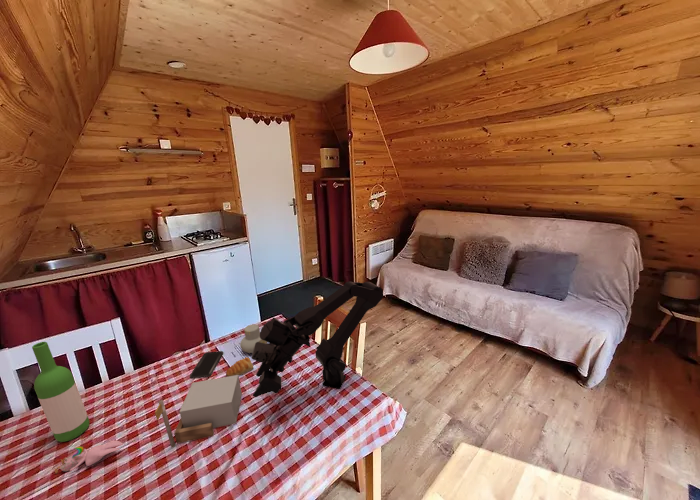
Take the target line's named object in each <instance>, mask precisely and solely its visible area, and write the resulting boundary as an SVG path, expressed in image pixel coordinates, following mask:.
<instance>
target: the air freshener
mask: <svg viewBox="0 0 700 500" xmlns="http://www.w3.org/2000/svg"><path fill="white" fill-rule="evenodd" d="M243 329H244V331H243V332H244V336H243V338H242V339H241V341H240V344H239V345H240V349H241V350H242V351H243V352H244V353H249V354H252V352H253V349H254V346H255V343H256V342H261V343H265V344H268V342H267V341H264V340H262V339H260V332H261V329H260V326H259V324H256V323H255V324H254V323H252V324H249V325H247V326H245V327H244V328H243Z"/></svg>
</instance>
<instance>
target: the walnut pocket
mask: <svg viewBox="0 0 700 500" xmlns="http://www.w3.org/2000/svg"><path fill="white" fill-rule="evenodd" d="M154 414H155V418H156V420H157V421H159V419H160V418H161V415H162V419H163V423H164V427H165V429H166V433H167V437H168V440H169V445H170V447H171V449H172V448H174V447H176V444H181V443H186V442H191V441H195V440H201V439H205V438H210V437H211V438H212V437H214V435H215V430H214V428H213V426H212V423H208V424H203V425H198V426H193V427H188V428H184V427H183V423H182V420H181V418H179V422H178V424H177V427H176V428H175V431H174V433H173V432H172V427H171V425H170V424H171V423H170V420H169V417H168V415H167V410H166V407H165V403H164V399H160V400H159V401H158V405H157V408H156V410H155V411H154ZM174 437H175V438H174ZM175 442H176V443H175Z"/></svg>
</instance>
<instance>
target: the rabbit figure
mask: <svg viewBox="0 0 700 500" xmlns="http://www.w3.org/2000/svg"><path fill="white" fill-rule="evenodd" d="M122 445H123V443H122V442H121V441H119V440H112V441H109V442H107V443H105V444H99V445H95V446H93V447H91V448H90V449H89V450H88V449H87V448H84V447H83V446H77V447H75V448H74V449H75V450H76V451H75V452H73V454H71V455H70V456H69V457H64V458H63V459H60V461H61V465H59V466H57V468H54V467H53V469H54V472H55V474H57V473H59V470H61V471H62V472H68V471H69V472H72V471H75V469H76V468H78V467H79V466H80V465H82V464H83V463H84V462H85V465H86V466H87V467H88V466H89V467H90V466H92V465H93V464H96V463H98V462H99V461H100V460H102V459H103V457H105V456H107V455H108V454H110V453H113V452H116V451H120V449H121V448H120V447H119V446H122ZM118 447H119V448H118ZM83 452H84V454H83V455H81V454H82V453H83Z"/></svg>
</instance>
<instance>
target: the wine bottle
mask: <svg viewBox="0 0 700 500" xmlns="http://www.w3.org/2000/svg"><path fill="white" fill-rule="evenodd" d="M31 349H32V351H33V354H34V356H35V359H36V362H37V364H38V366H39V370H40V373H39V374H37V376H36V378H35V379H34V383H33V384H34V385H33V389H34V391H35V393H36V395H37V399H38V401H39V403H40V406H41V409H42V411H43V415H44V416H45V418H46V421H47V423H48V425H49V427H50V429H51V433H52V435H53V437H54V439H55V441H58V442H61V443H63V442H65V443H66V442H68V441H72V440H74V439H76V438H78V437H80V436H81V435H82V434H83V433H84V432H85V431H86V430H87V429H88V428H89V425H90V419H89V416H88V413H87V410H86V408H85V405H84V402H83V400H82V396H81V394H80V392H79V389H78V386H77V383H76V381H75V379H74V376H73V373H72V371H71V370H70V369H69V368H67V367H65V366H61V365H57V364H56V361H55V359H54V357H53V354H52V352H51V349H50V346H49V344H48V342H46V341H41V342H37V343H35V344H33V346H31Z"/></svg>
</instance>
